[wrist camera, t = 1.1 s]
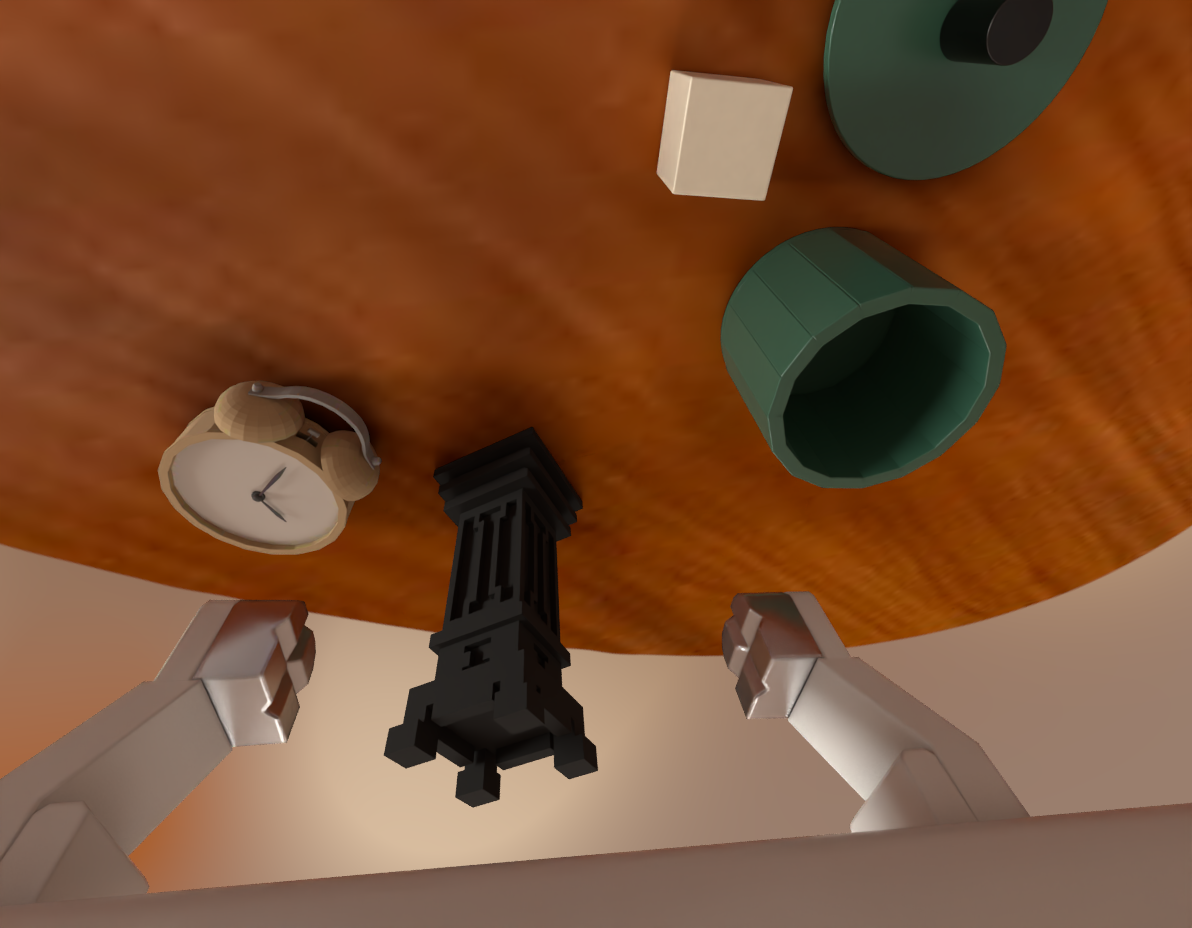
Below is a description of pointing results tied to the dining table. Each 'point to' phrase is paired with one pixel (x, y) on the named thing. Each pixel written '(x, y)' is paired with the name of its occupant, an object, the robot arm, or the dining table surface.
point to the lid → (947, 76)
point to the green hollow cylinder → (858, 357)
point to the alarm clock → (269, 469)
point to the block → (721, 134)
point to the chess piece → (500, 627)
